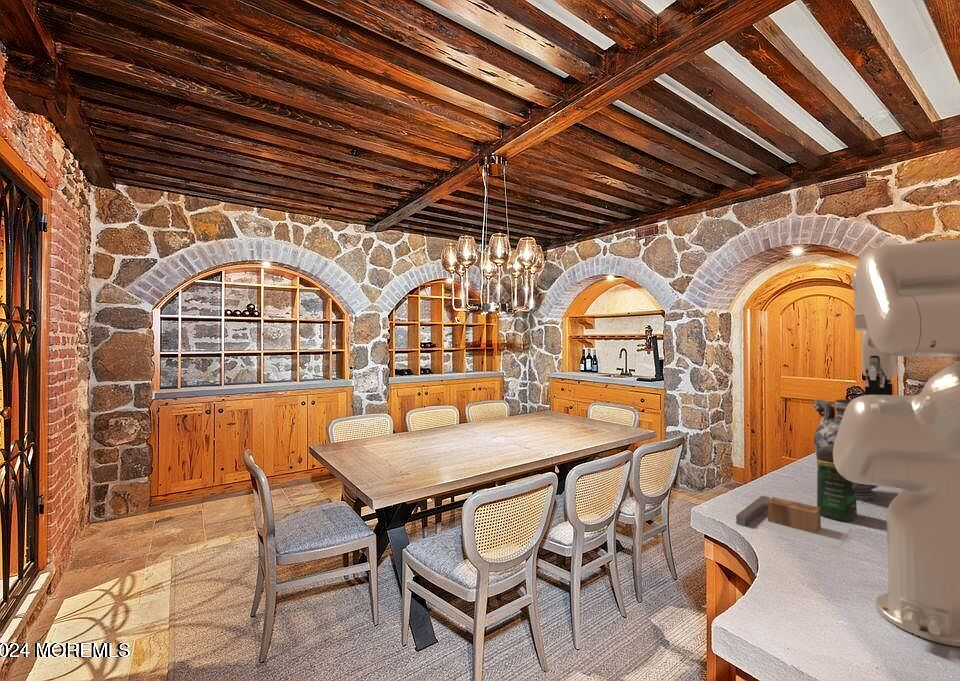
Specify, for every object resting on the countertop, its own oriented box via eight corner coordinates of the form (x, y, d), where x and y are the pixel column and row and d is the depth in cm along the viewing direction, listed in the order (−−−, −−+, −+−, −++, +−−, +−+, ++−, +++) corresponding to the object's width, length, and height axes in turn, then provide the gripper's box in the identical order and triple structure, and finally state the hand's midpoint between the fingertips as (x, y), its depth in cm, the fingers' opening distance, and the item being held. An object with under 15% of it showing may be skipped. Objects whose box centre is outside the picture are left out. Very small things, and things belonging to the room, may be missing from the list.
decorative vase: (918, 500, 124) (915, 402, 124) (880, 512, 117) (876, 409, 117) (834, 479, 144) (831, 394, 143) (797, 488, 137) (793, 399, 137)
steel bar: (745, 527, 109) (744, 517, 109) (736, 525, 111) (736, 515, 111) (770, 506, 123) (769, 497, 123) (762, 504, 124) (761, 495, 124)
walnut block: (767, 521, 112) (815, 533, 105) (767, 501, 112) (815, 513, 105) (773, 515, 115) (820, 527, 108) (773, 496, 115) (820, 507, 108)
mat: (838, 548, 98) (838, 547, 98) (758, 526, 110) (758, 525, 110) (850, 529, 107) (850, 528, 107) (775, 511, 119) (775, 510, 119)
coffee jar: (852, 525, 109) (851, 452, 109) (813, 516, 115) (812, 446, 115) (860, 515, 115) (859, 445, 115) (823, 506, 121) (822, 440, 121)
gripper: (897, 322, 84) (898, 410, 85) (906, 323, 96) (908, 400, 96) (847, 324, 90) (848, 406, 90) (861, 324, 101) (863, 397, 102)
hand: (879, 403), depth 93 cm, fingers open, 9 cm apart
